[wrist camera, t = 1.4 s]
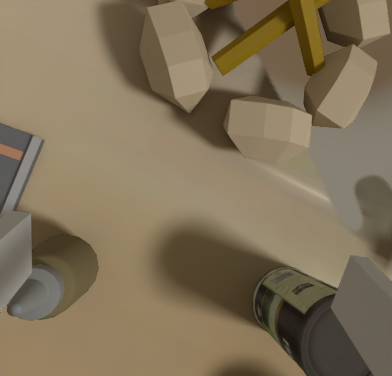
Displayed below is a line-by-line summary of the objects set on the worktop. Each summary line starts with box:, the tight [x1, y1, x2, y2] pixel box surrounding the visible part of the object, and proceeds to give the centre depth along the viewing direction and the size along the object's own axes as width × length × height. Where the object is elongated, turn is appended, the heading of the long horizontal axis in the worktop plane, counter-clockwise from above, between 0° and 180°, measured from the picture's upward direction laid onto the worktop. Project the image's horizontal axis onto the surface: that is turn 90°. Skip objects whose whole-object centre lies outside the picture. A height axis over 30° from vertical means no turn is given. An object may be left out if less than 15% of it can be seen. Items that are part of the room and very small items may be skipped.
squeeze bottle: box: [7, 235, 99, 321], centre depth 32 cm, size 8×8×18 cm
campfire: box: [139, 0, 390, 163], centre depth 39 cm, size 35×34×17 cm
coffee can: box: [253, 267, 373, 376], centre depth 39 cm, size 10×10×14 cm
